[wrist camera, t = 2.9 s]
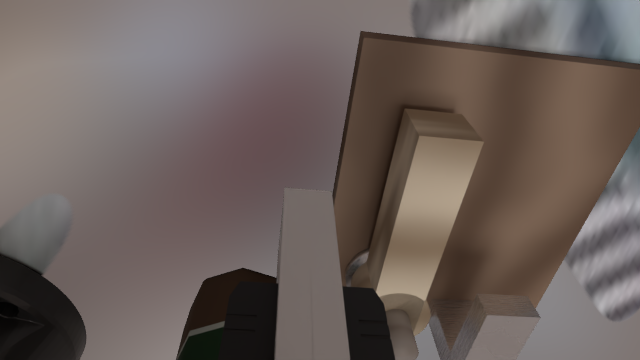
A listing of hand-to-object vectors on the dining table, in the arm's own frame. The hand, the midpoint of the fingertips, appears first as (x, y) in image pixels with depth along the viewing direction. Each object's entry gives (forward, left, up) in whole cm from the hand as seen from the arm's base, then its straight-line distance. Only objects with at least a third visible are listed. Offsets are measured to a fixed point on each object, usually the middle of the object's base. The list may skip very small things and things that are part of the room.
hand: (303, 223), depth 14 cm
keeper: (+9, -12, -9) cm, 17 cm away
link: (+7, -6, -9) cm, 13 cm away
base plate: (+11, -6, -11) cm, 16 cm away
